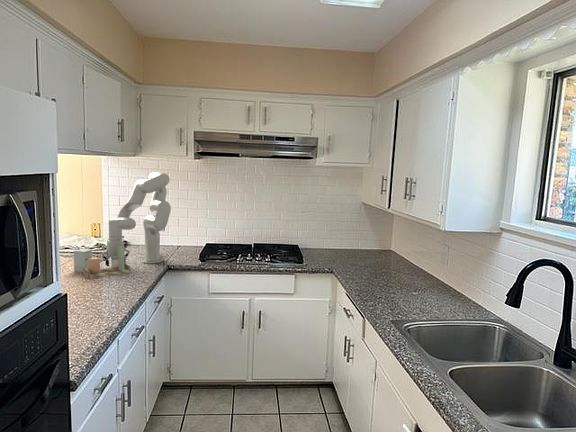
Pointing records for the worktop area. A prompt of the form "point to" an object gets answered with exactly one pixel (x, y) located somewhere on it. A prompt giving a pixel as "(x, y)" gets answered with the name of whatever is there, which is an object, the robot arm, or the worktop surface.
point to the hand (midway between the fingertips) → (115, 265)
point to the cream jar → (114, 262)
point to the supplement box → (81, 259)
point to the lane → (87, 272)
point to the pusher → (121, 258)
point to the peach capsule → (94, 265)
